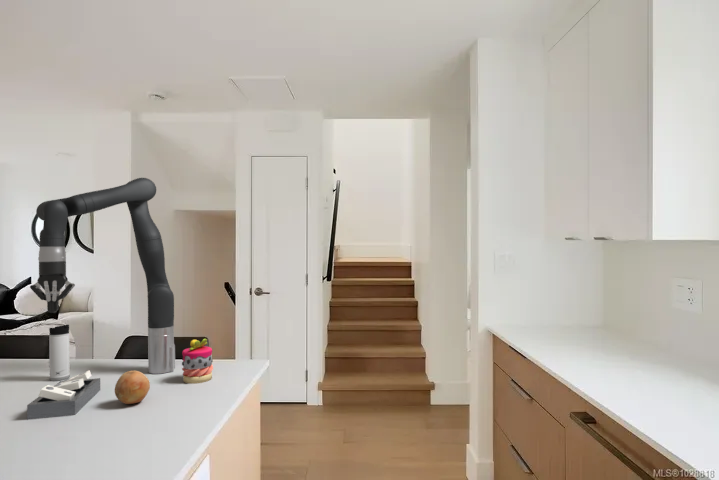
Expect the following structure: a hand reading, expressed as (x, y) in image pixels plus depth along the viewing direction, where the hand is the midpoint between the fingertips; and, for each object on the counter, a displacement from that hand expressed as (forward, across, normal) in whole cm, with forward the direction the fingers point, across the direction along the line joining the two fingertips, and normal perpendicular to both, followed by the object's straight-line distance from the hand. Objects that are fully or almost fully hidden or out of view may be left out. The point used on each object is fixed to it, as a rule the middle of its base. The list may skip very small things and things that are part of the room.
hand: (52, 312), depth 152 cm
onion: (+27, -28, +18) cm, 43 cm away
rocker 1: (+22, -8, +20) cm, 30 cm away
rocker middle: (+22, -8, +12) cm, 26 cm away
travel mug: (+27, +5, -20) cm, 34 cm away
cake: (+27, -45, -3) cm, 53 cm away
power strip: (+27, -8, +8) cm, 29 cm away
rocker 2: (+22, -8, +4) cm, 24 cm away
